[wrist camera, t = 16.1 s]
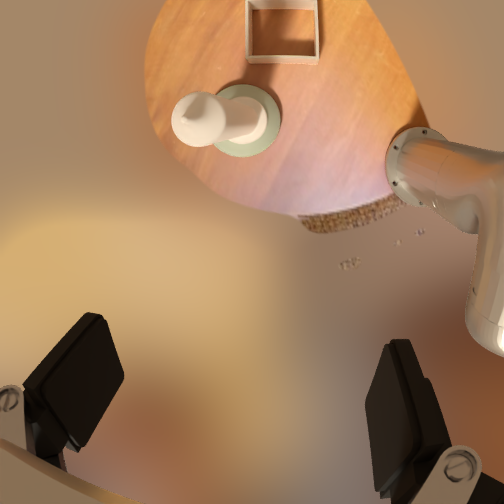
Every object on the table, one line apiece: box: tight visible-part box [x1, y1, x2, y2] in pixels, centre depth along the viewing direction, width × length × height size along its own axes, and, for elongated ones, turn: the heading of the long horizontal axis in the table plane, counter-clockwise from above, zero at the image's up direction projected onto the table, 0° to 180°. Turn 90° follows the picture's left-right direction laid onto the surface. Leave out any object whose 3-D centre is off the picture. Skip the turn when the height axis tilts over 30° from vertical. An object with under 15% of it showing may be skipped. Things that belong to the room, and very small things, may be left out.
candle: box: [172, 91, 268, 147], centre depth 30 cm, size 7×7×25 cm
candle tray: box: [245, 0, 319, 65], centre depth 35 cm, size 10×10×4 cm
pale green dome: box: [214, 84, 281, 157], centre depth 42 cm, size 11×11×1 cm
